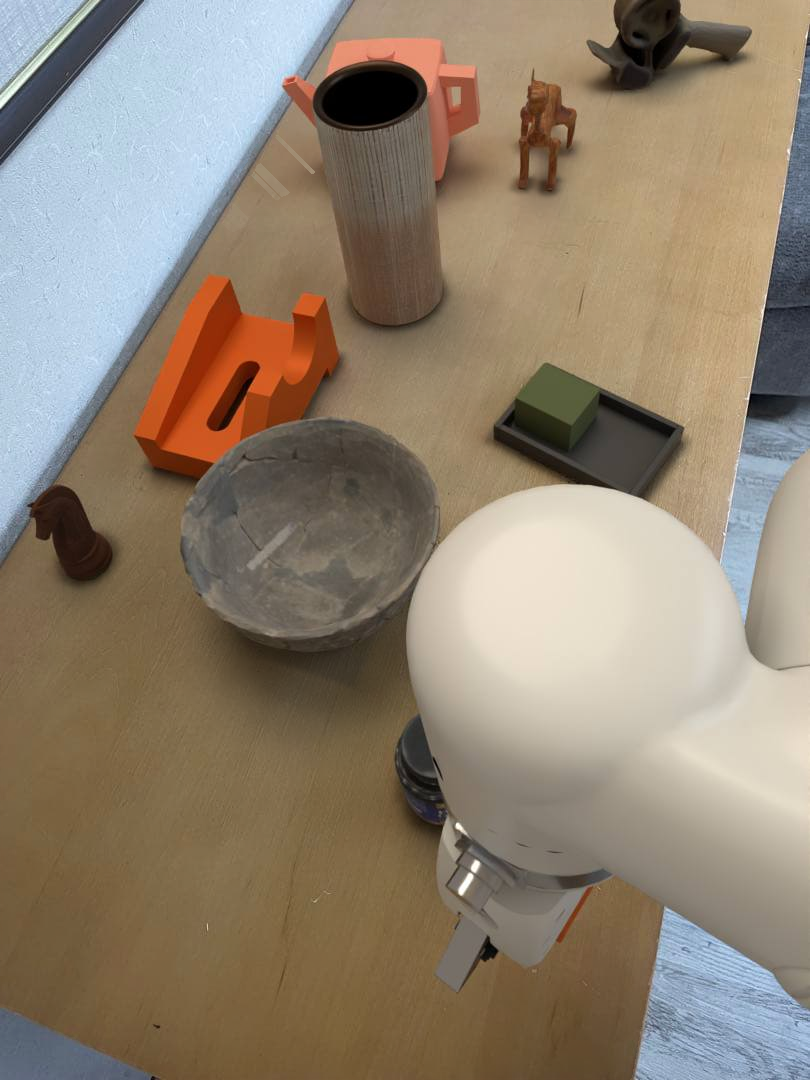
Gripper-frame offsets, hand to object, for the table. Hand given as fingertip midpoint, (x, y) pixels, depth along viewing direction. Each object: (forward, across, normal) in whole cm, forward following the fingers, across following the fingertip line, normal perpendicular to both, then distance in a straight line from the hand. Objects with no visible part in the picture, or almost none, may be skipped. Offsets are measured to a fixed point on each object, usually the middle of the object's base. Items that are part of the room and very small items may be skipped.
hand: (535, 862), depth 44 cm
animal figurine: (+19, +72, +43) cm, 86 cm away
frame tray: (+19, +38, +17) cm, 46 cm away
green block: (+18, +38, +21) cm, 47 cm away
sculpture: (+19, +93, +38) cm, 102 cm away
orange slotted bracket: (+19, +23, +48) cm, 56 cm away
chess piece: (+19, +2, +49) cm, 52 cm away
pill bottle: (+19, +4, +10) cm, 22 cm away
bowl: (+19, +13, +29) cm, 37 cm away
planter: (+19, +44, +44) cm, 65 cm away
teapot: (+19, +61, +58) cm, 86 cm away
